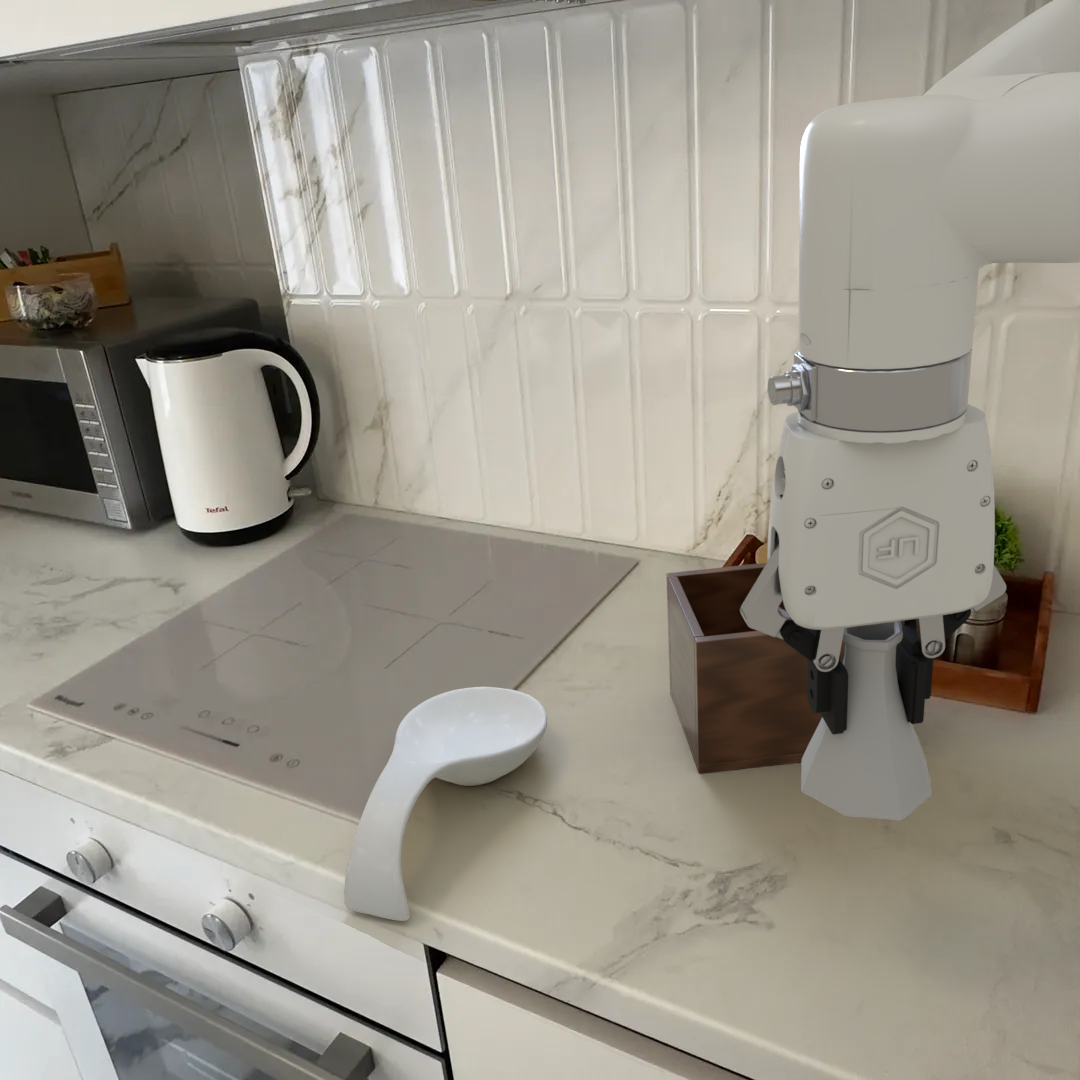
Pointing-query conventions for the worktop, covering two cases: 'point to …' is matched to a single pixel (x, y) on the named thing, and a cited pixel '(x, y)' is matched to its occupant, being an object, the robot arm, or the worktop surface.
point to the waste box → (734, 675)
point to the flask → (869, 737)
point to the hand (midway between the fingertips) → (867, 711)
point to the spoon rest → (418, 757)
